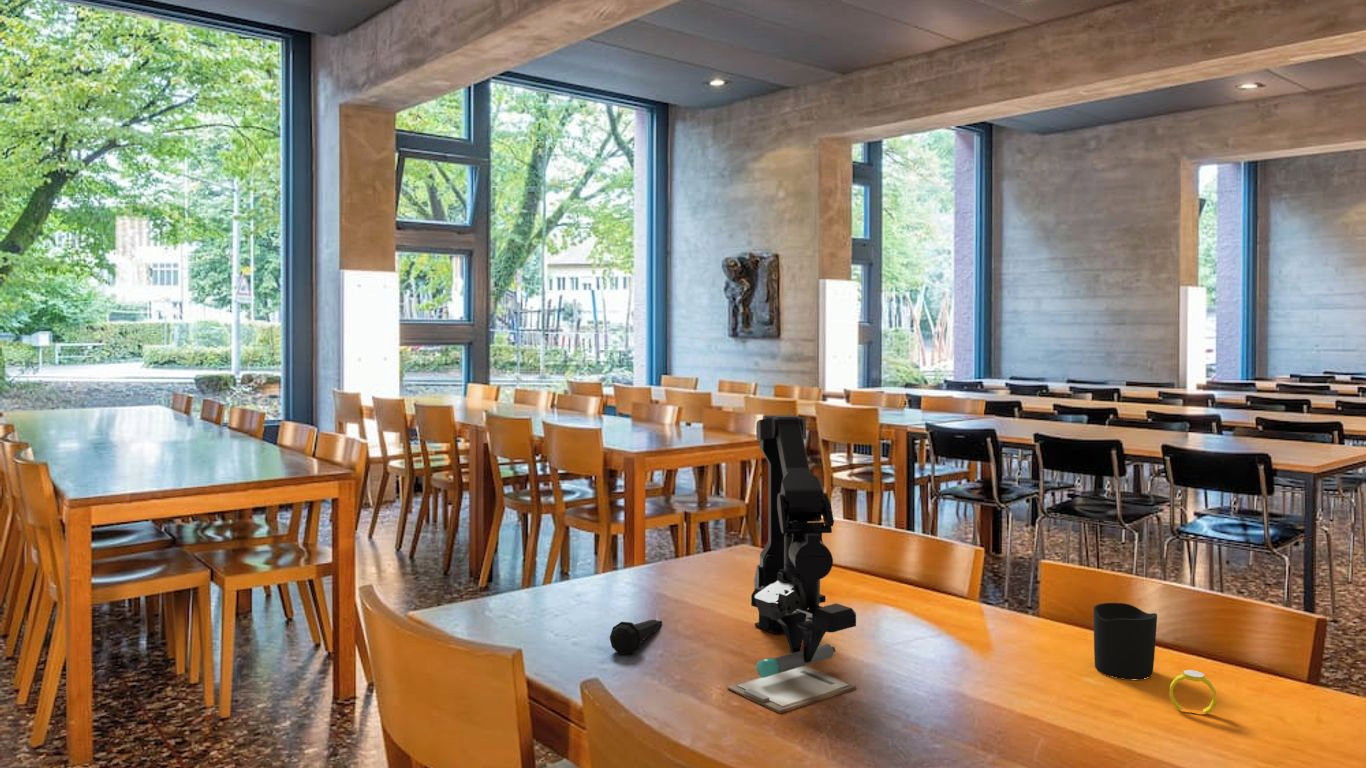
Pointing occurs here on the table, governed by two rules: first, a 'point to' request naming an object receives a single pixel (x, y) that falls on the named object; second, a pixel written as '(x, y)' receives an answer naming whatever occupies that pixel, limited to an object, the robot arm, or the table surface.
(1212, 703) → the watch
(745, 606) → the table surface
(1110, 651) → the pen holder
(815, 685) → the clipboard
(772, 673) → the marker
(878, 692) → the table surface
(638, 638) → the microphone
